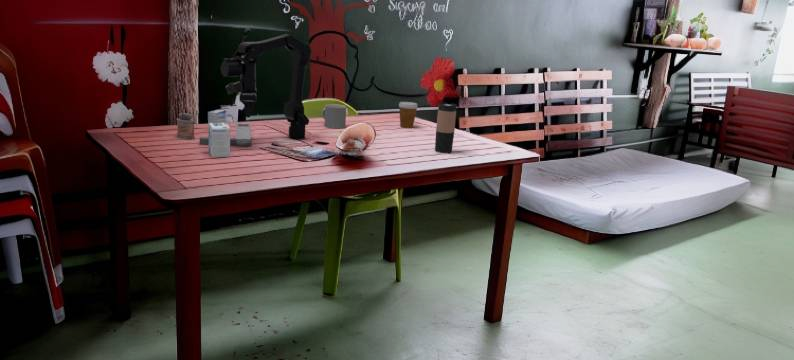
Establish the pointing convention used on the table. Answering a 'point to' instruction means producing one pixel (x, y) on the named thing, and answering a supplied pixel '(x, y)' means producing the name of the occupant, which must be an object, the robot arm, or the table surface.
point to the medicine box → (216, 117)
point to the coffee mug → (334, 116)
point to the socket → (243, 131)
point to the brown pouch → (185, 126)
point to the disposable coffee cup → (407, 114)
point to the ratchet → (232, 142)
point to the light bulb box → (219, 140)
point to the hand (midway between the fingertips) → (248, 115)
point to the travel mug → (445, 127)
